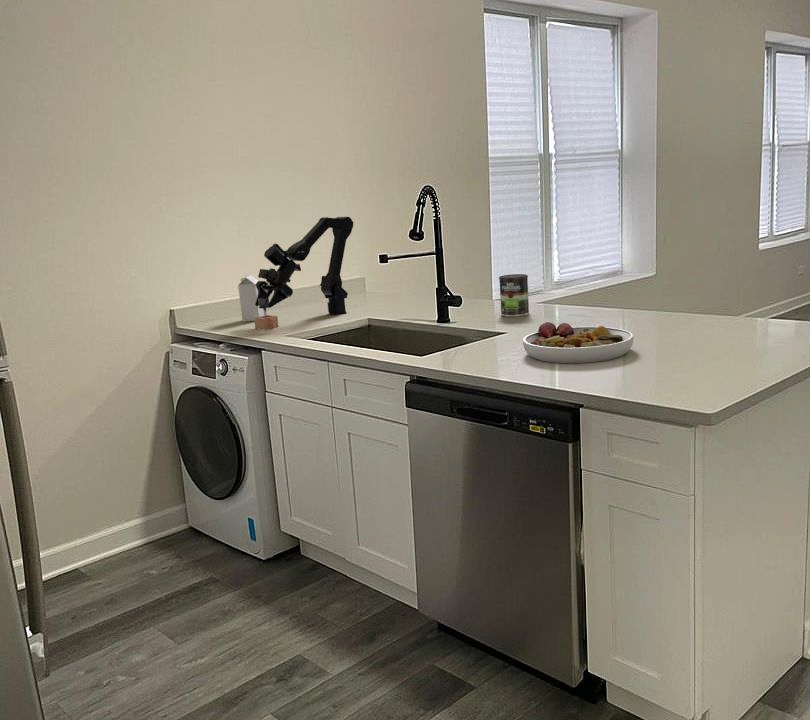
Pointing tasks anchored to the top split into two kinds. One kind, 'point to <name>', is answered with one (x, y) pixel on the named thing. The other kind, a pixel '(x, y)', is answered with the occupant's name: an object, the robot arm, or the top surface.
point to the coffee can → (514, 295)
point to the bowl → (577, 343)
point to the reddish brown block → (266, 322)
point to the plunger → (264, 304)
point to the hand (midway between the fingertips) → (262, 306)
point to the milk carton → (249, 298)
